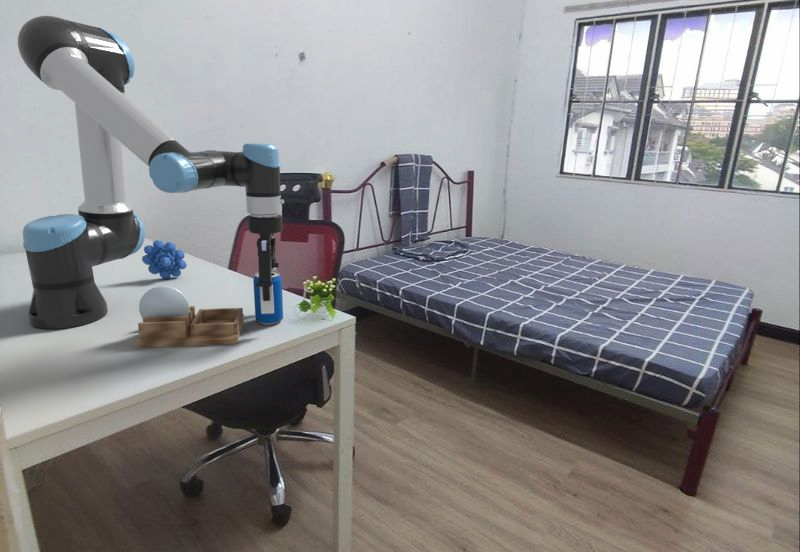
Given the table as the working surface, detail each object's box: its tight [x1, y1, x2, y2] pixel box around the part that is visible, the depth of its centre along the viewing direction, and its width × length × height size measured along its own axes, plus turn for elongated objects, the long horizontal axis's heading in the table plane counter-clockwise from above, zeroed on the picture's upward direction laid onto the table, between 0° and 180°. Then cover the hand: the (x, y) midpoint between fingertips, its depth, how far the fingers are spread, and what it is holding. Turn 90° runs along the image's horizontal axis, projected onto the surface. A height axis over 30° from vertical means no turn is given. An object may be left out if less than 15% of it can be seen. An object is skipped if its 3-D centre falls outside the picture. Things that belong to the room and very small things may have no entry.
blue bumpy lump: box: [141, 239, 188, 280], centre depth 137 cm, size 12×7×12 cm, turn 120°
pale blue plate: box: [138, 285, 191, 319], centre depth 101 cm, size 10×1×10 cm, turn 101°
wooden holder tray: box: [134, 305, 246, 349], centre depth 104 cm, size 20×14×5 cm
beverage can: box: [252, 270, 284, 326], centre depth 111 cm, size 6×6×12 cm
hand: (269, 302), depth 111 cm, fingers open, 13 cm apart
